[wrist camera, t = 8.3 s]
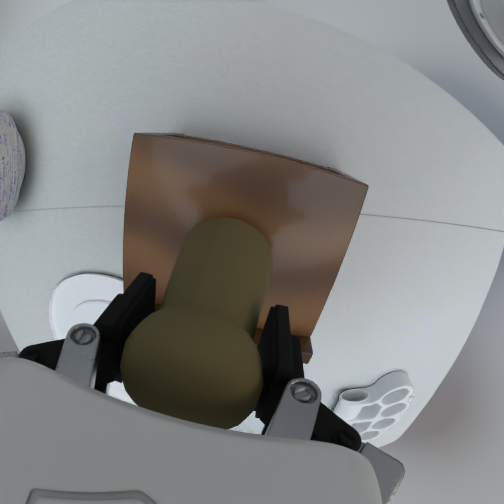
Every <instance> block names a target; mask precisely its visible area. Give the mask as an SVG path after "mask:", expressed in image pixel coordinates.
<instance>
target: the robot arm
mask: <svg viewBox="0 0 504 504" xmlns="http://www.w3.org/2000/svg"><path fill="white" fill-rule="evenodd" d="M469 3H470V7H471V9H472V12H473V14H474V16H475V18H476V20H477V22H478V24H479V26H480V28H481V29H482V31H483V32H484V34H485V35H486V37H487V38H488V40H489V41H490V43H491V44H492V45H493V46H494V48H495V49H496V50H497V51H498V52H499V53H500V54H501V55H502V56H503V57H504V0H469ZM155 297H156V279H155V278H153V275H152V274H149V273H145V272H140V273H139V274H138V276H137V277H136V278H135V279H134V280H133V282H132V283H131V284H130V285H129V286H128V288H127V289H126V290H125V291H124V293H123V294H118V295H116V297H115V298H114V299H113V300H112V302H111V303H110V304H109V305H108V307H107V308H106V309H105V310H104V312H103V313H102V314H101V315H100V317H99V318H98V319H97V320H96V322H95V323H94V324H93V325H92V324H88V323H80V324H76V325H74V326H72V327H71V328H70V329H69V331H68V333H67V336H66V338H65V339H60V340H55V341H50V342H45V343H40V344H35V345H30V346H27V347H26V348H24V349H23V350H22V351H21V352H20V354H18V353H17V351H13V352H3V353H0V504H389V503H390V502H391V500H392V498H393V496H394V495H395V493H396V491H397V489H398V487H399V485H400V483H401V481H402V479H403V477H404V474H405V469H404V466H403V464H402V463H401V462H400V461H399V460H397V459H395V458H393V457H392V456H390V455H388V454H386V453H385V452H383V451H381V450H380V449H378V448H376V447H375V446H373V445H372V444H370V443H368V442H367V443H363V442H362V440H361V436H360V435H359V433H358V432H357V431H356V430H355V429H354V428H353V427H352V426H350V425H349V424H348V423H346V422H345V421H344V420H342V419H341V418H340V417H339V416H337V415H336V414H335V413H334V412H332V411H331V410H330V409H329V408H327V407H326V406H325V405H324V404H322V403H321V402H320V401H321V390H320V388H319V387H318V386H317V385H316V384H315V383H314V382H313V381H311V380H309V379H305V378H304V370H303V361H302V353H301V344H300V338H299V337H298V336H292V335H291V331H290V320H289V309H288V306H283V305H278V304H276V305H275V307H273V306H271V307H270V310H269V313H268V316H267V319H266V322H265V325H264V328H263V331H262V334H261V337H260V340H259V343H258V346H257V348H258V351H259V354H260V357H261V362H262V367H263V372H264V385H263V388H262V391H261V394H260V397H259V400H258V403H257V405H256V408H255V410H254V411H256V415H255V418H260V420H261V421H262V422H263V423H264V424H265V425H264V427H263V429H262V431H261V433H260V435H258V434H251V433H244V432H238V431H232V430H227V429H222V428H217V427H212V426H207V425H203V424H198V423H194V422H190V421H186V420H182V419H178V418H175V417H171V416H168V415H164V414H161V413H158V412H154V411H151V410H148V409H145V408H142V407H139V406H136V405H133V404H131V403H128V402H125V401H122V400H120V399H117V398H115V397H112V396H109V387H110V383H111V382H114V381H117V382H119V383H122V377H121V371H120V363H121V358H122V353H123V349H124V345H125V341H126V340H127V338H128V337H129V335H130V333H131V332H132V331H133V330H134V329H135V328H136V327H137V325H138V324H139V323H140V322H141V321H142V320H144V319H145V318H146V317H147V316H149V315H150V314H151V313H154V312H155Z"/></svg>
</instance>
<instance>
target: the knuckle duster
mask: <svg viewBox="0 0 504 504" xmlns="http://www.w3.org/2000/svg"><path fill="white" fill-rule="evenodd" d="M413 392H414V388H413V386H412V384H411V381H410V379H409V377H408V375H407V373H405V372H403V371H395V372H391V373H389V374H386V375H384V376H383V377H381V378H380V379H379V380H378V381H377V382H376V383H375V384H373V385H371V386H369V387H366V388H356V389H350V390H347V391H345V392H343V393H342V394H341V395H340V396H339V400H338V403H337V405H336V407H335V409H334V411H333V412H334V413H335V414H336V415H337V416H339V417H340V418H341V419H342V420H344V421H345V422H346V423H348V424H349V425H350V426H352V427H353V428H354V429H355V430H356V431H357V432H358V433H359V435H360V436H361V440H362V442H366V441H370V440H373V439H376V438H378V437H379V436H381V435H382V433H383V432H384V431H385V430H386V429H388V428H389V427H391V426H393V425H394V424H395V423H397V422H398V421H399V420H400V416H401V415H402V414H403V413H404V412H405V411H406V410H407V409H408V406H409V404H410V402H409V401H410V400H411V399H412V398H413V396H410V395H411V394H412V393H413Z"/></svg>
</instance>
